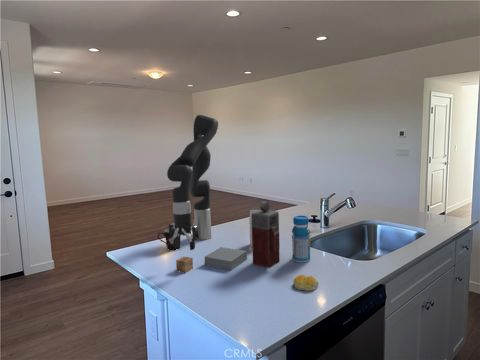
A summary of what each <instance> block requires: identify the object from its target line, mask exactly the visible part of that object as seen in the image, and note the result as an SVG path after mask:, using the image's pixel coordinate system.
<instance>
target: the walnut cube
mask: <svg viewBox="0 0 480 360" xmlns="http://www.w3.org/2000/svg"><path fill="white" fill-rule="evenodd" d="M175 261H176V262H175V264H176V265H175V266H176V272H179V271H180V273H183V272H185V273H184V274H186V272H187V273H189V272H190V271H192V270H194V263H193V257H189V256H181V257H178V258H177V259H175ZM191 269H192V270H191Z"/></svg>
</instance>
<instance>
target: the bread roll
mask: <svg viewBox="0 0 480 360" xmlns="http://www.w3.org/2000/svg"><path fill="white" fill-rule="evenodd" d="M293 286H294V288H295V289H297V290H300V291H302V290H303V291H305V292H311V291H312V292H313V291H316V289H317V288H318V286H319V282H318V280H317V278H315V277H313V276H311V275H309V276H306V275H304V274H299V275H296V276H295V277H294V279H293Z"/></svg>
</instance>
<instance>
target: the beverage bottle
mask: <svg viewBox="0 0 480 360" xmlns="http://www.w3.org/2000/svg"><path fill="white" fill-rule="evenodd" d="M309 219H310V218H309V217H308V216H307V215H302V214H301V215H294V216H293V220H292V222H293V225H294V226H293V227H292V230H291V233H292V235H291V240H292V241H291V242H292V244H291V245H292V246H291V247H292V255H291V257H292V259H291V260H293V261H294V262H297V263H307V262H310V261H311V238H312V236H311V235H310V234H311V229H310V227H309V223H310V221H309Z"/></svg>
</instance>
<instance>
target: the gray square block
mask: <svg viewBox="0 0 480 360" xmlns="http://www.w3.org/2000/svg"><path fill="white" fill-rule="evenodd" d="M247 252H248V251H247V250H241V249H234V248H228V247H223V246H221V247H219V248H217V249H216V250H214V251H212V252H210V253H208V254H206V255H205V256H204V266H207V267H212V268H218V269H223V270H226V271H233V270H235V269H236V268H237V267H238V266H240V265H241V264H242V263H244V262H246V261H247V260H248V254H247Z"/></svg>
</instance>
